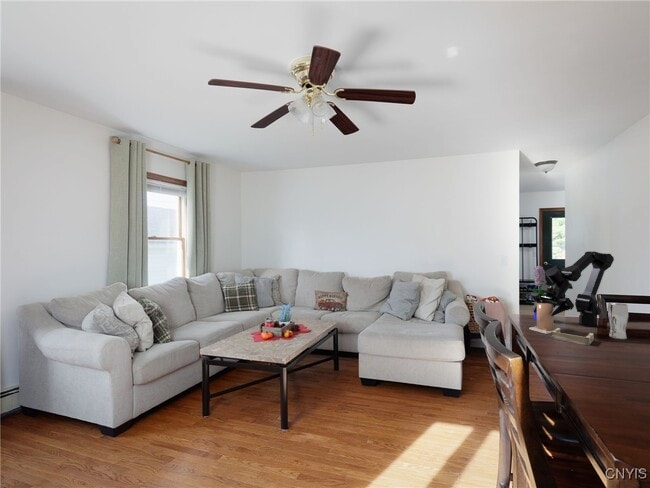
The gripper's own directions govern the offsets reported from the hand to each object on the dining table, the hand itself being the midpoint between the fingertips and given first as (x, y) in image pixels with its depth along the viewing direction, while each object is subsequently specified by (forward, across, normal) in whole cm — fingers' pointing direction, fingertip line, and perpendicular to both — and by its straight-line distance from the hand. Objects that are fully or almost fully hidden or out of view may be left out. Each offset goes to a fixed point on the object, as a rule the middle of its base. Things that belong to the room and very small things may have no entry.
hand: (542, 313), depth 166 cm
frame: (+7, +15, +5) cm, 17 cm away
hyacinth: (-8, -16, +20) cm, 27 cm away
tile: (+5, 0, +7) cm, 8 cm away
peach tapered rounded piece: (+4, 0, +6) cm, 8 cm away
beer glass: (-9, +20, +21) cm, 30 cm away
